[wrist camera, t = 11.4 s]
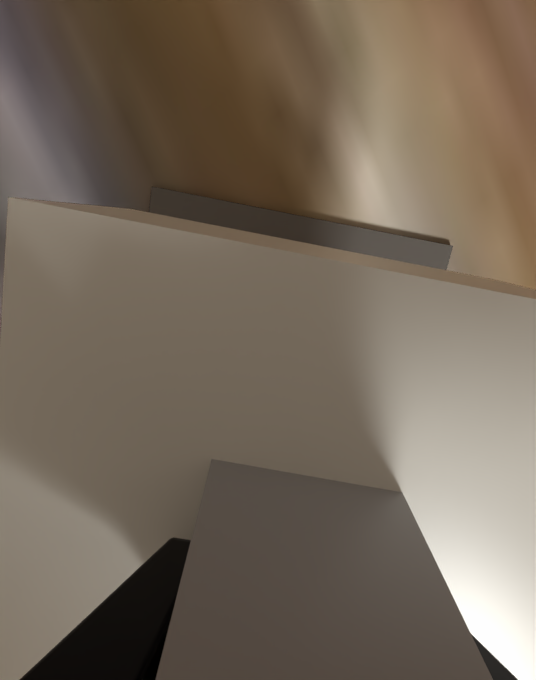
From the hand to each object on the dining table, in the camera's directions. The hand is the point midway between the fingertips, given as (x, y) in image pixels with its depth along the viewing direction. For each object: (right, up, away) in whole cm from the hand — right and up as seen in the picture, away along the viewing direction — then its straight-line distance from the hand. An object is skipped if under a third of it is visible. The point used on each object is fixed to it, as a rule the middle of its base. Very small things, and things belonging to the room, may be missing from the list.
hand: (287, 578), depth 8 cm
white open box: (0, +2, +6) cm, 6 cm away
